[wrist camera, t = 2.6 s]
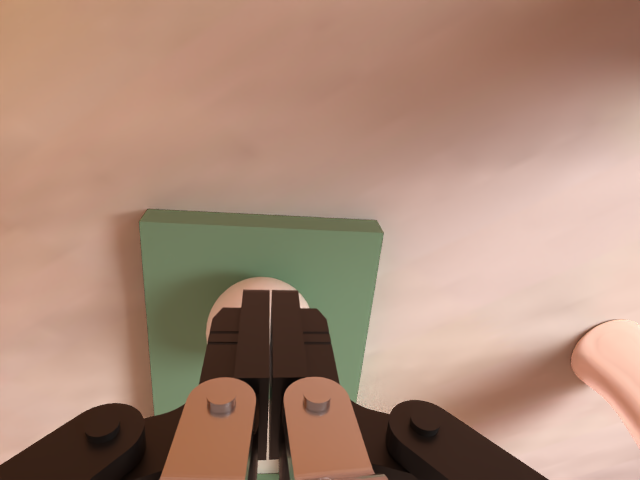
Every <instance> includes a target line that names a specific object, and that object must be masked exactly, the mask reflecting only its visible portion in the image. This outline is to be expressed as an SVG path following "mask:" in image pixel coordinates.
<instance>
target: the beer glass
mask: <svg viewBox="0 0 640 480" xmlns="http://www.w3.org/2000/svg"><path fill="white" fill-rule="evenodd" d="M571 366H572V369H573V371H574V373H575V375H576V376H577V377H578V378H579V379H580V380H582V381H583V382H584V383H585V384H587V385H588V386H589V387H591V388H592V389H593V390H594V391H596V392H597V393H598V394H599V395H601V396H602V397H603V398H604V399H605V400H606V401H607V402H608V403H609V404H610V406H611V407H612V408H613V409H614V410H615V412H616V413H617V414H618V416H619V417H620V419H621V420H622V422H623V423H624V425H625V426H626V428H627V430H628V431H629V433H630V435H631V436H632V438H633V439H634V441H635V443H636V444H637V446H638V447H639V449H640V325H639V324H637V323H636V322H633V321H630V320H624V319H619V320H612V321H608V322H605V323H602V324H600V325H598V326H596V327H594V328H593V329H591V330H590V331H588V332H587V333H586V334H585V335H584V336H583V337H582V338H581V339H580V340H579V341H578V343H577V344H576V346H575V348H574V350H573V352H572V356H571Z"/></svg>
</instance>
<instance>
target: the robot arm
mask: <svg viewBox="0 0 640 480" xmlns="http://www.w3.org/2000/svg"><path fill="white" fill-rule="evenodd" d="M268 404H269V460H273V459H279V480H548V479H547V478H545V477H544V476H542V475H541V474H539V473H538V472H536V471H535V470H533V469H532V468H530V467H529V466H527V465H526V464H524V463H523V462H521V461H520V460H518V459H517V458H515V457H514V456H512V455H511V454H509V453H508V452H506V451H505V450H503V449H502V448H500V447H499V446H497V445H496V444H494V443H493V442H492V441H490V440H489V439H487V438H486V437H484V436H483V435H481V434H480V433H478V432H477V431H475V430H474V429H472V428H471V427H469V426H468V425H466V424H465V423H463V422H462V421H460V420H459V419H457V418H456V417H454V416H453V415H451V414H450V413H448V412H447V411H445V410H444V409H442V408H440V407H439V406H437V405H434V404H432V403H429V402H425V401H420V400H409V401H405V402H402V403H400V404H398V405H396V406H395V407H394V408H393V409H392V411H391V413H390V414H386V413H382V412H378V411H374V410H370V409H367V408H364V407H362V406H360V405H358V404H356V403H354V402H353V401H352V400H350V398H349V395H348V393H347V392H346V390H345V389H344V388H343V387H342V386H341V385H340V383H339V378H338V373H337V368H336V363H335V358H334V353H333V348H332V345H331V338H330V334H329V328H328V323H327V319H326V318H325V317H324V316H323V315H322V313H321V312H320V311H319V310H318V309H317V308H300V301H299V292H298V290H272V298H271V323H270V290H246V289H243V296H242V305H241V308H230V307H223V308H222V309H221V310H220V311H219V312H218V313H217V314H216V315H215V316H214V317H213V318H212V323H211V328H210V334H209V337H208V344H207V347H206V352H205V357H204V362H203V366H202V371H201V376H200V381H199V385H198V386H197V387H195V388H194V389H193V390H192V391H191V393H190V394H189V396H188V398H187V400H186V403H185V404H184V405H182V406H180V407H179V408H177V409H175V410H172V411H170V412H167V413H164V414H160V415H157V416H153V417H149V418H145V419H143V416H142V415H141V413H140V412H139V411H138V410H137V409H136V408H134V407H132V406H130V405H126V404H121V403H112V404H105V405H100V406H97V407H94V408H91V409H89V410H87V411H85V412H83V413H81V414H80V415H78V416H77V417H75V418H74V419H72V420H70V421H69V422H67V423H66V424H64V425H63V426H61V427H59V428H58V429H56V430H55V431H53V432H52V433H50V434H48V435H47V436H45V437H44V438H42V439H41V440H39V441H37V442H36V443H34V444H33V445H31V446H30V447H28V448H26V449H25V450H23V451H22V452H20V453H19V454H17V455H15V456H14V457H12V458H11V459H9V460H8V461H6V462H4V463H3V464H1V465H0V480H257V465H258V460H266V452H267V428H268Z"/></svg>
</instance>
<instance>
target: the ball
mask: <svg viewBox="0 0 640 480" xmlns="http://www.w3.org/2000/svg"><path fill="white" fill-rule="evenodd" d="M243 289H246V290H270V323H271V298H272V290H296V289H295V288H294V287H292V286H291V285H289V284H287V283H285V282H283V281H281V280H278V279H275V278H270V277H253V278H248V279H245V280H242V281H240V282H237V283H236V284H234V285H232V286H231V287H229V288H228V289H227V290H226V291H225V292H223V293H222V294H221V295H220V297H219V298H218V299H217V300H216V302H215V304H214V305H213V307H212V309H211V311H210V314H209V317H208V321H207V326H206V339H207V344H208V337H209V334H210V328H211V323H212V318H213V317H214V316H215V315H216V314H217V313H218V312H219V311H220V310H221V309H222V308H223V307H230V308H241V305H242V296H243ZM299 301H300V308H309V306H308V304H307V302H306V300H305V299H304V297H303V296H302V295H301V294H300V293H299Z"/></svg>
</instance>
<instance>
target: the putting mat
mask: <svg viewBox="0 0 640 480" xmlns="http://www.w3.org/2000/svg"><path fill="white" fill-rule="evenodd" d="M139 228H140V241H141V253H142V266H143V279H144V291H145V304H146V316H147V329H148V342H149V354H150V367H151V379H152V392H153V405H154V416H157V415H160V414H164V413H167V412H170V411H172V410H175V409H177V408H179V407H180V406H182V405H184V404H185V403H186V400H187V398H188V396H189V394H190V393H191V391H192V390H193V389H194V388H195V387H197V386H198V385H199V381H200V376H201V371H202V366H203V362H204V357H205V352H206V347H207V339H206V326H207V321H208V317H209V314H210V311H211V309H212V307H213V305H214V304H215V302H216V300H217V299H218V298H219V297H220V295H221V294H222V293H223V292H225V291H226V290H227V289H228V288H229V287H231V286H232V285H234V284H236V283H237V282H240V281H242V280H245V279H248V278H253V277H270V278H275V279H278V280H281V281H283V282H285V283H287V284H289V285H291V286H292V287H294V288H295V289H296V290H298V292H299V293H300V294H301V295H302V296H303V297H304V299H305V300H306V302H307V304H308V306H309V308H317V309H318V310H319V311H320V312H321V313H322V315H323V316H324V317H325V318H326V319H327V323H328V328H329V334H330V338H331V345H332V348H333V353H334V358H335V363H336V368H337V373H338V378H339V383H340V385H341V386H342V387H343V388H344V389H345V390H346V392H347V393H348V395H349V398H350V400H352V401H353V402H354V403H356V400H357V394H358V388H359V382H360V375H361V369H362V363H363V357H364V351H365V345H366V339H367V333H368V326H369V320H370V314H371V308H372V302H373V296H374V290H375V284H376V277H377V271H378V265H379V259H380V253H381V247H382V241H383V234H384V233H383V231H382V229H381V227H380V225H379V224H378V222H377V220H360V219H340V218H320V217H300V216H280V215H260V214H240V213H220V212H200V211H180V210H159V209H148V210H147V211H146V212H145V214H144V215H143V217H142V218H141V220H140V221H139ZM257 480H279V474H257Z"/></svg>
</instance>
